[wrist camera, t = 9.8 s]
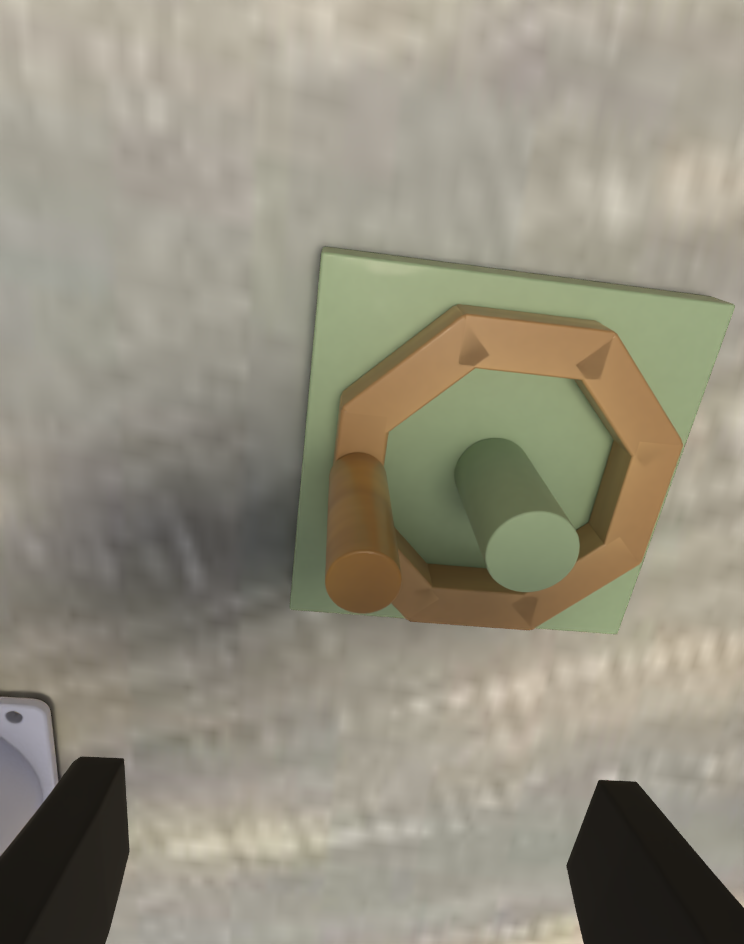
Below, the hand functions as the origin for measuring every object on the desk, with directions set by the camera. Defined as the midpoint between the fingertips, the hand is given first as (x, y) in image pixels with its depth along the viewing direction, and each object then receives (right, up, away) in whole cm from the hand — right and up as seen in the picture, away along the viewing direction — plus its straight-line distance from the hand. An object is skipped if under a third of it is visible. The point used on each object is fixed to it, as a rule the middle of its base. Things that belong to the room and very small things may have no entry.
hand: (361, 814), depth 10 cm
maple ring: (+3, +5, +7) cm, 9 cm away
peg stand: (+3, +6, +8) cm, 11 cm away
